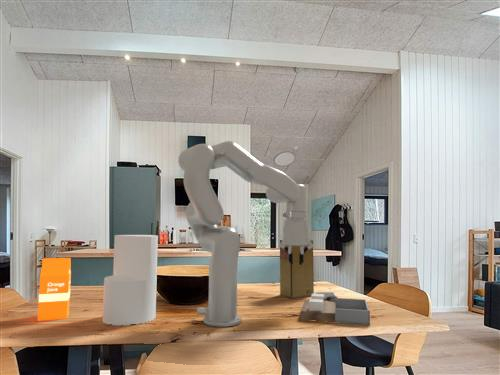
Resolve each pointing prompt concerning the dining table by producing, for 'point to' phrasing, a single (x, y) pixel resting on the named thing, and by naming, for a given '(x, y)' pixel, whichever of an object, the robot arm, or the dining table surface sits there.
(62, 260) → the orange juice
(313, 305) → the white rectangular block
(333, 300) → the cleaver
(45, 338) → the dining table surface
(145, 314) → the white stepped block
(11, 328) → the dining table surface
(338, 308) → the tray
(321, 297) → the tile
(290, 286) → the food packaging
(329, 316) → the board
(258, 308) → the dining table surface
